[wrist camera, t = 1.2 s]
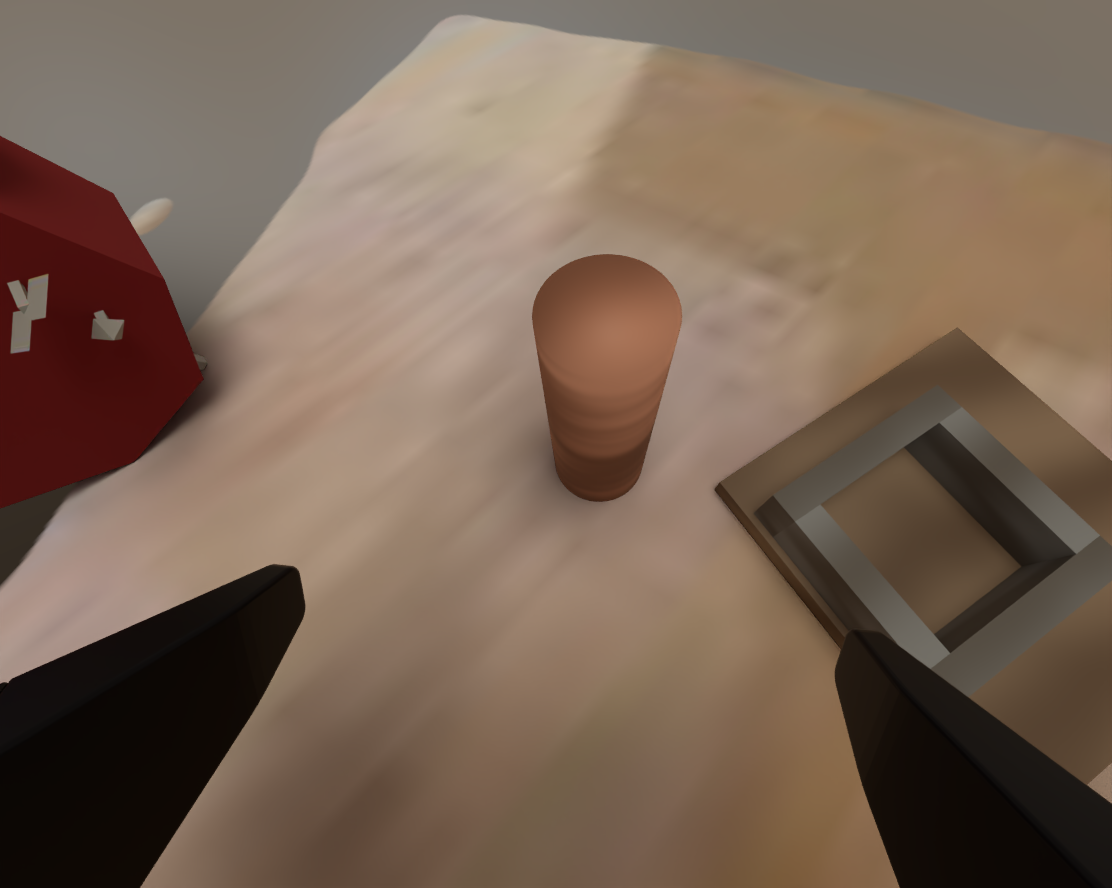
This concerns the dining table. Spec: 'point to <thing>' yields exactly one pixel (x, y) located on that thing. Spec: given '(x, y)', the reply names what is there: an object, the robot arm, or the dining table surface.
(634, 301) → the peg
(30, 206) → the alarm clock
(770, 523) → the socket board
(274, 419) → the dining table surface
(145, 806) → the robot arm
